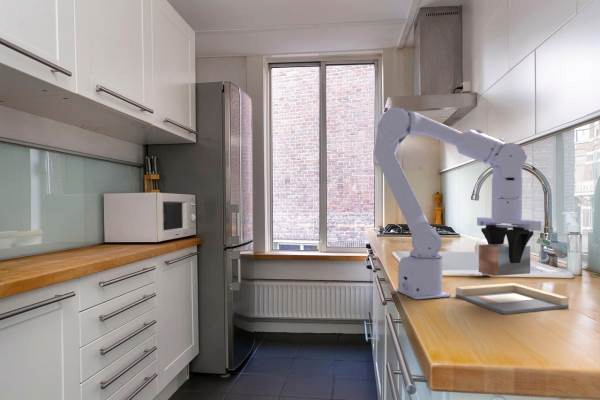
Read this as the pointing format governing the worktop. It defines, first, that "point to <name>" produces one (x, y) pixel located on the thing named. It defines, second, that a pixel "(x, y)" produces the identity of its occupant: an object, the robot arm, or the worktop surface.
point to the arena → (511, 298)
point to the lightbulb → (481, 242)
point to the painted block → (502, 260)
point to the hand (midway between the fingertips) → (505, 260)
